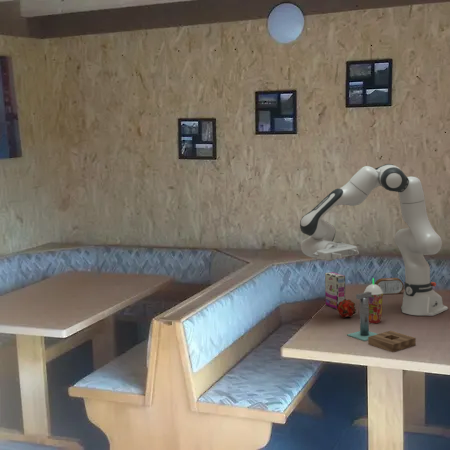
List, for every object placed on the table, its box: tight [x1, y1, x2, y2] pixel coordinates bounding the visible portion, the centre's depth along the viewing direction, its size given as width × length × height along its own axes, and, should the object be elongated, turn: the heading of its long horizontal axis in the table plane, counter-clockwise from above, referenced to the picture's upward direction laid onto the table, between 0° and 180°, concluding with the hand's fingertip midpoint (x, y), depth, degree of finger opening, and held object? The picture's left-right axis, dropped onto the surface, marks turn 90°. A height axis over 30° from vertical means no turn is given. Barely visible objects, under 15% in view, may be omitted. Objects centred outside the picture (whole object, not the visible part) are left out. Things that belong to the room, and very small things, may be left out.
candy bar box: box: [324, 271, 346, 310], centre depth 324 cm, size 11×5×16 cm, turn 23°
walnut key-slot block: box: [367, 330, 417, 353], centre depth 265 cm, size 13×13×3 cm
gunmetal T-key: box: [355, 291, 372, 336], centre depth 277 cm, size 7×4×18 cm, turn 124°
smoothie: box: [363, 277, 384, 324], centre depth 296 cm, size 8×8×20 cm
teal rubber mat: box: [346, 330, 378, 342], centre depth 278 cm, size 10×10×1 cm
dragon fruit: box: [336, 298, 357, 319], centre depth 307 cm, size 8×8×12 cm
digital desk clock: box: [374, 277, 404, 296], centre depth 346 cm, size 15×3×8 cm, turn 93°
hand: (349, 254), depth 290 cm, fingers open, 8 cm apart
